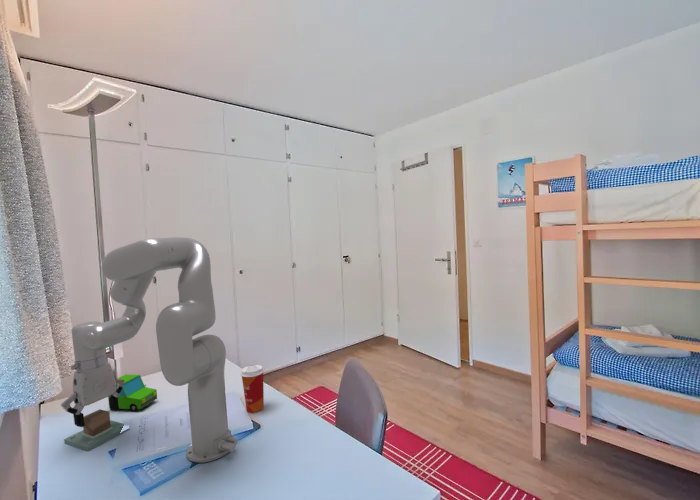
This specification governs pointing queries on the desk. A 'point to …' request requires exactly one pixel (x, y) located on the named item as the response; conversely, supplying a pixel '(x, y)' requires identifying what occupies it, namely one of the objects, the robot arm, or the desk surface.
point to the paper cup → (253, 388)
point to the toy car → (134, 393)
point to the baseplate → (94, 437)
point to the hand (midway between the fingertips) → (98, 417)
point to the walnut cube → (96, 422)
